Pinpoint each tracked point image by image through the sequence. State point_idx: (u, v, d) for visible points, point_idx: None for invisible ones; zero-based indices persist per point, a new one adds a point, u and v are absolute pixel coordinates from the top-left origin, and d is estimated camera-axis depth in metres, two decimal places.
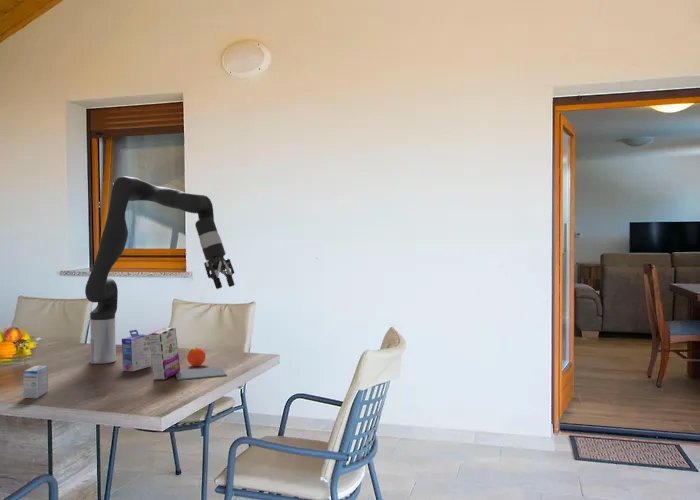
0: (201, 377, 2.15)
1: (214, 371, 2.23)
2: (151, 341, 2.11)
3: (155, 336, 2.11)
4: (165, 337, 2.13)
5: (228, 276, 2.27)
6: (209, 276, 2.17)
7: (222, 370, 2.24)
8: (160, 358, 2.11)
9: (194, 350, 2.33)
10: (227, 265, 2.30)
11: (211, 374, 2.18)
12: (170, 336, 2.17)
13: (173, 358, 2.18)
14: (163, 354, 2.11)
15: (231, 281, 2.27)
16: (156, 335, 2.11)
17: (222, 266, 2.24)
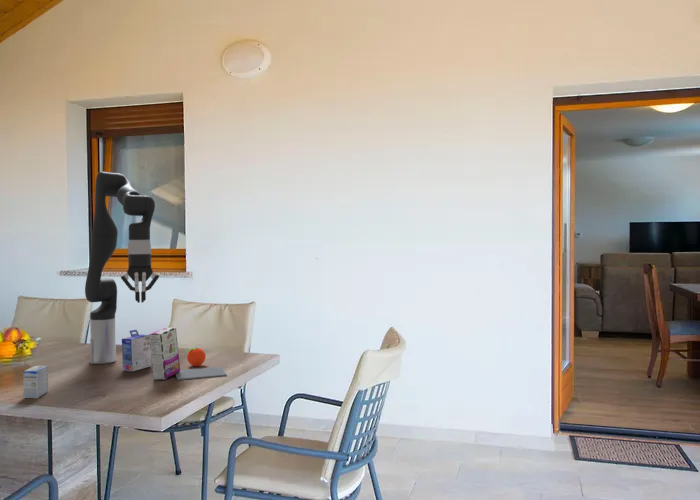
0: (201, 377, 2.15)
1: (214, 371, 2.23)
2: (151, 341, 2.11)
3: (155, 336, 2.11)
4: (166, 337, 2.13)
5: None
6: None
7: (222, 370, 2.24)
8: (160, 358, 2.11)
9: (194, 350, 2.33)
10: None
11: (211, 374, 2.18)
12: (171, 336, 2.17)
13: (174, 358, 2.18)
14: (163, 354, 2.11)
15: (141, 297, 2.13)
16: (156, 335, 2.11)
17: (139, 275, 2.12)
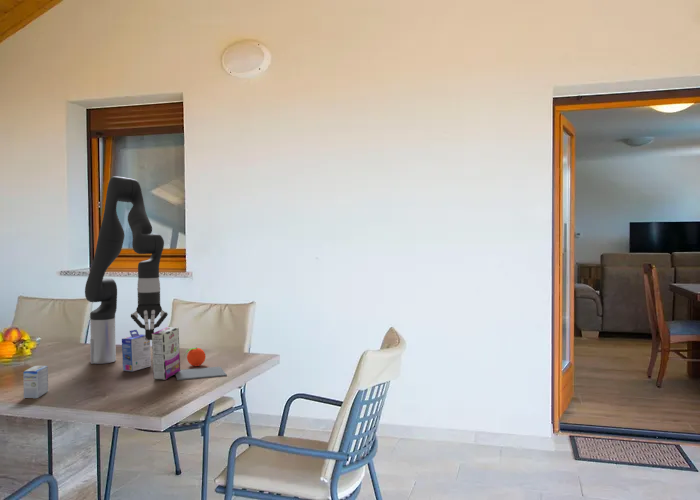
0: (201, 377, 2.15)
1: (214, 371, 2.23)
2: (153, 340, 2.11)
3: (158, 336, 2.10)
4: (168, 337, 2.13)
5: None
6: None
7: (222, 370, 2.24)
8: (161, 358, 2.11)
9: (194, 350, 2.33)
10: None
11: (211, 374, 2.18)
12: (173, 336, 2.16)
13: (174, 358, 2.18)
14: (165, 354, 2.11)
15: None
16: (159, 335, 2.10)
17: (148, 312, 2.13)
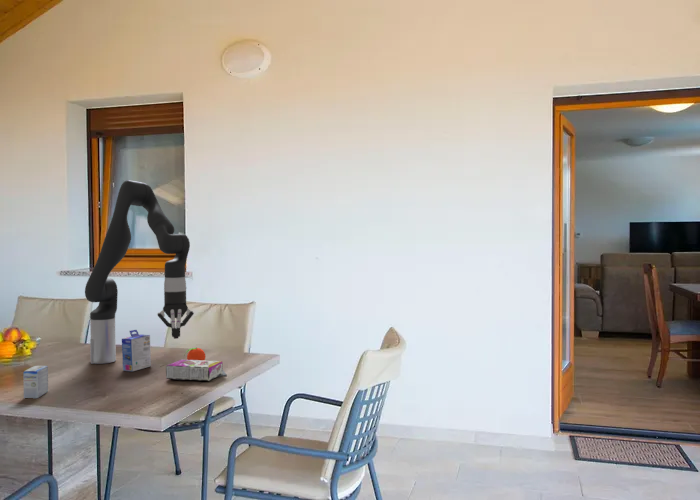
0: None
1: None
2: (202, 369, 2.08)
3: (205, 374, 2.08)
4: None
5: (176, 327, 2.18)
6: None
7: (222, 370, 2.24)
8: (185, 376, 2.09)
9: (194, 350, 2.32)
10: None
11: None
12: None
13: None
14: (189, 379, 2.10)
15: None
16: (207, 376, 2.08)
17: (175, 311, 2.16)
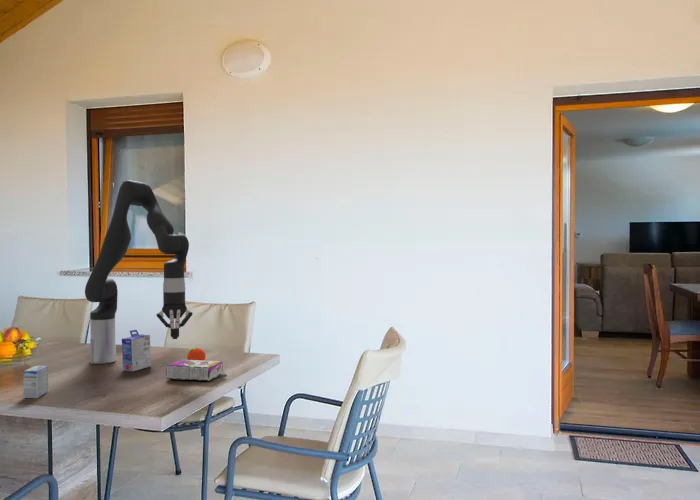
0: None
1: None
2: (202, 369, 2.08)
3: (205, 374, 2.08)
4: None
5: (175, 328, 2.18)
6: None
7: (222, 370, 2.24)
8: (185, 376, 2.09)
9: (194, 350, 2.33)
10: None
11: None
12: None
13: None
14: (189, 379, 2.10)
15: None
16: (207, 376, 2.08)
17: (174, 312, 2.16)
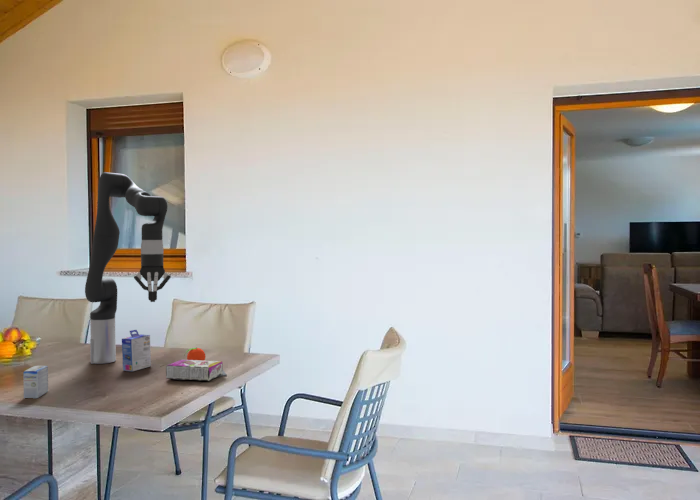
0: None
1: None
2: (202, 369, 2.08)
3: (205, 374, 2.08)
4: None
5: (153, 290, 2.16)
6: None
7: (222, 370, 2.24)
8: (185, 376, 2.09)
9: (194, 350, 2.33)
10: None
11: None
12: None
13: None
14: (189, 379, 2.10)
15: None
16: (207, 376, 2.08)
17: (152, 274, 2.14)
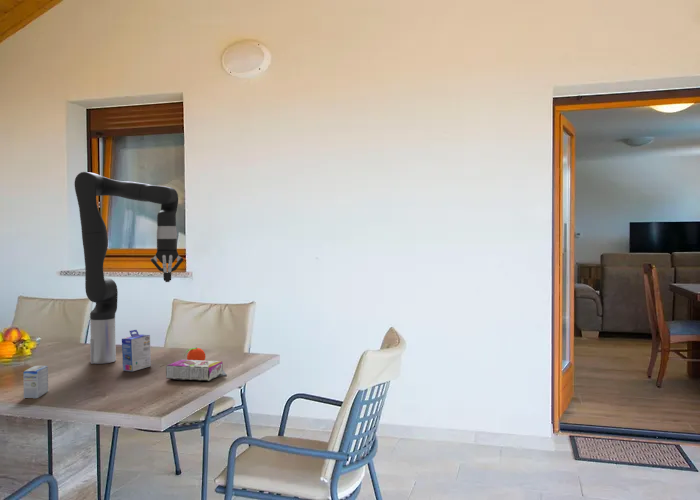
0: None
1: None
2: (202, 369, 2.08)
3: (205, 374, 2.08)
4: None
5: (167, 272, 2.39)
6: None
7: (222, 370, 2.24)
8: (185, 376, 2.09)
9: (194, 350, 2.33)
10: None
11: None
12: None
13: None
14: (189, 379, 2.10)
15: None
16: (207, 376, 2.08)
17: (166, 257, 2.38)
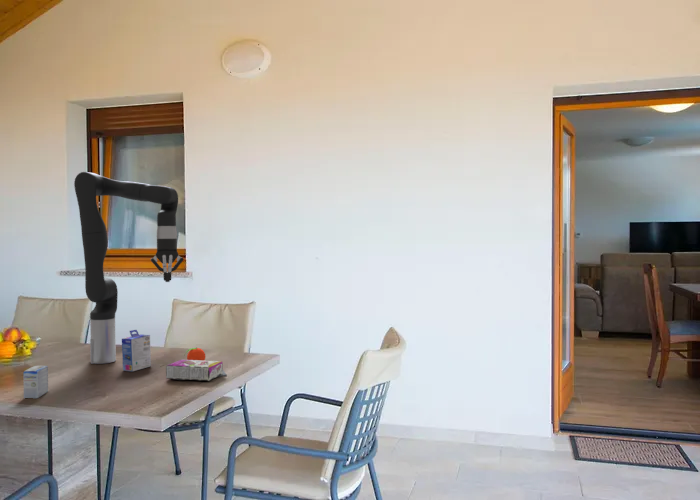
0: None
1: None
2: (202, 369, 2.08)
3: (205, 374, 2.08)
4: None
5: (167, 272, 2.39)
6: None
7: (222, 370, 2.24)
8: (185, 376, 2.09)
9: (194, 350, 2.32)
10: None
11: None
12: None
13: None
14: (189, 379, 2.10)
15: None
16: (207, 376, 2.08)
17: (166, 257, 2.38)
